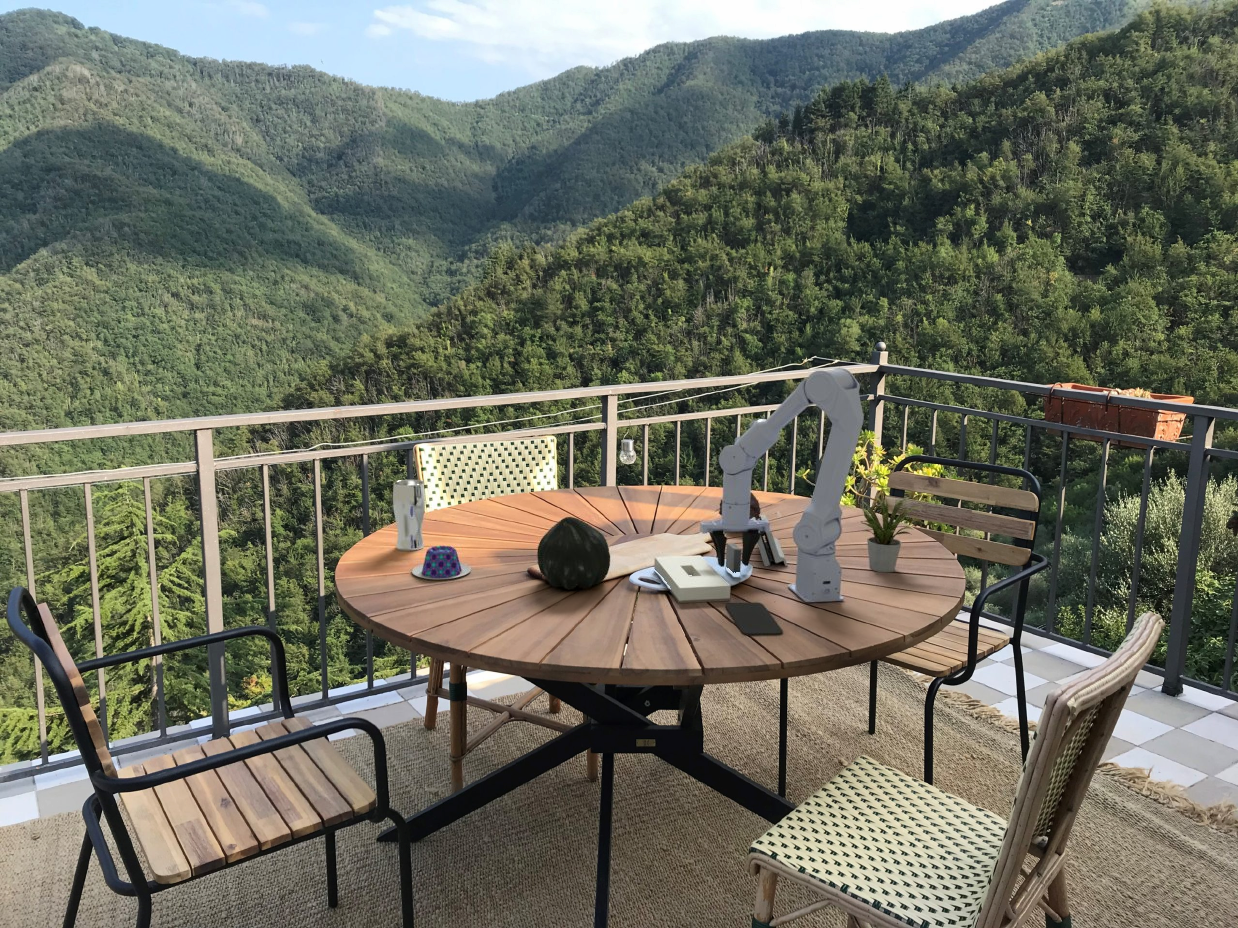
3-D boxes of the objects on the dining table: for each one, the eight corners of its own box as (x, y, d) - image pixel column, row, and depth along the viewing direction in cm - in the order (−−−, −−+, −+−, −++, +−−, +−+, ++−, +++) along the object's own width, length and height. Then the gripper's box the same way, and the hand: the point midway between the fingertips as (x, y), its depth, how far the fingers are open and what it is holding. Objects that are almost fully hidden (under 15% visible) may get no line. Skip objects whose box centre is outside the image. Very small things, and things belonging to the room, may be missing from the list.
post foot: (729, 600, 166) (730, 585, 165) (679, 603, 164) (679, 587, 163) (699, 568, 185) (700, 555, 184) (654, 570, 183) (654, 557, 182)
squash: (607, 543, 183) (563, 495, 177) (634, 566, 169) (587, 515, 163) (558, 590, 181) (512, 543, 175) (581, 617, 168) (532, 567, 162)
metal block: (740, 577, 180) (741, 549, 179) (733, 577, 180) (734, 549, 178) (732, 569, 185) (733, 542, 184) (725, 570, 184) (726, 543, 183)
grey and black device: (787, 566, 188) (774, 524, 186) (766, 572, 188) (753, 530, 187) (779, 545, 204) (767, 506, 203) (760, 551, 205) (747, 511, 203)
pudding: (402, 571, 180) (401, 546, 179) (454, 561, 187) (453, 537, 186) (428, 586, 171) (427, 561, 170) (481, 575, 178) (481, 551, 177)
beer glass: (387, 548, 194) (385, 483, 192) (408, 541, 201) (407, 478, 198) (411, 553, 191) (410, 487, 188) (432, 545, 197) (431, 481, 195)
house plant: (920, 562, 193) (927, 491, 190) (924, 581, 180) (931, 505, 177) (854, 556, 196) (859, 486, 193) (853, 574, 183) (859, 499, 180)
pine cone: (771, 536, 212) (773, 496, 210) (732, 537, 210) (734, 497, 208) (746, 518, 229) (747, 481, 227) (710, 519, 227) (711, 482, 225)
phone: (742, 633, 148) (723, 602, 163) (742, 638, 149) (723, 606, 163) (784, 632, 149) (762, 602, 164) (784, 637, 149) (761, 606, 164)
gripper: (762, 496, 185) (759, 557, 187) (697, 498, 182) (694, 560, 184) (774, 504, 178) (771, 567, 180) (706, 506, 175) (704, 570, 177)
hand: (733, 564), depth 182 cm, fingers open, 5 cm apart
